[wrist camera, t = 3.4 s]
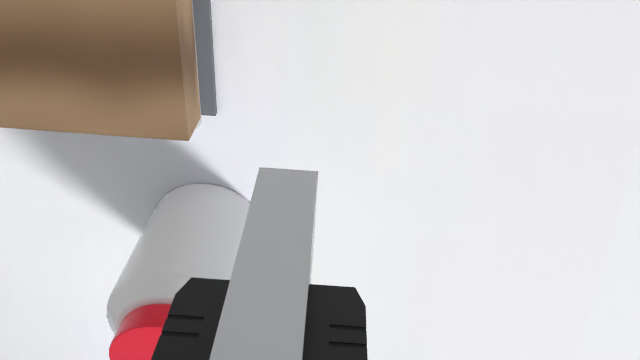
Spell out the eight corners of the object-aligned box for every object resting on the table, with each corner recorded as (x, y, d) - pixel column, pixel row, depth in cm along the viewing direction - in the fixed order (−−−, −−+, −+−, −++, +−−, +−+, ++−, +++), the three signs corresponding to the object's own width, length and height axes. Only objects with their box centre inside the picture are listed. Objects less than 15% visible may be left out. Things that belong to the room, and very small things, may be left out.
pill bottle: (242, 172, 34) (202, 299, 25) (279, 261, 38) (256, 399, 29) (133, 195, 36) (57, 323, 26) (180, 279, 40) (128, 415, 30)
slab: (-136, -92, 23) (-183, -84, 21) (186, -71, 23) (169, -60, 21) (-65, 98, 28) (-98, 120, 26) (200, 117, 28) (188, 140, 26)
